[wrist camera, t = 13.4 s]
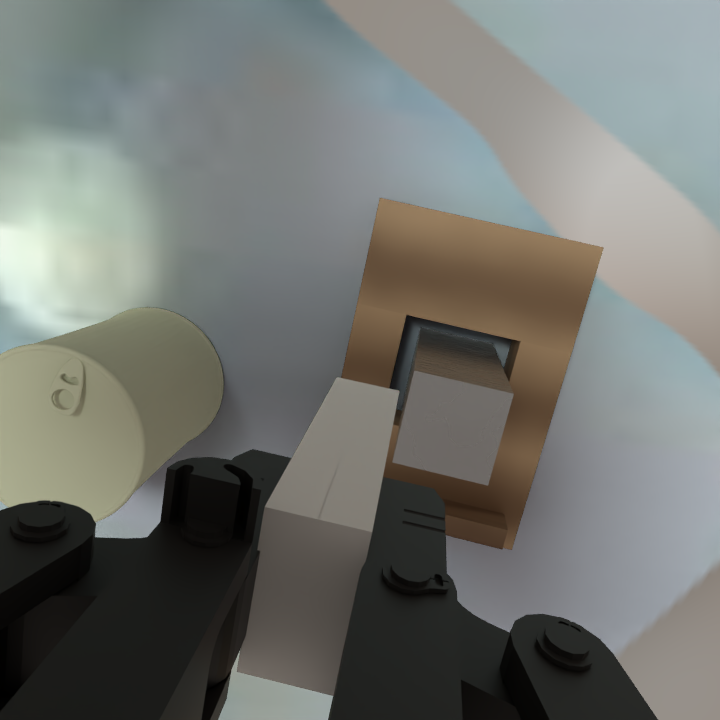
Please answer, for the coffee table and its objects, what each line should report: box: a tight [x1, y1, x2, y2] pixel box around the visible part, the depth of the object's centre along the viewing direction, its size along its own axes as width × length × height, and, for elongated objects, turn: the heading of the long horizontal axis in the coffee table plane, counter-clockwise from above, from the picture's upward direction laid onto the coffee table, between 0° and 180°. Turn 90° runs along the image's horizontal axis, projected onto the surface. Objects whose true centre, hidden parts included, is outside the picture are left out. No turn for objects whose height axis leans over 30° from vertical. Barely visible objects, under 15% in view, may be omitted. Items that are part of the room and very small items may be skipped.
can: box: [0, 307, 224, 522], centre depth 36 cm, size 9×9×12 cm
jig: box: [341, 198, 603, 550], centre depth 37 cm, size 18×12×5 cm, turn 168°
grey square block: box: [392, 327, 514, 486], centre depth 34 cm, size 4×4×11 cm
